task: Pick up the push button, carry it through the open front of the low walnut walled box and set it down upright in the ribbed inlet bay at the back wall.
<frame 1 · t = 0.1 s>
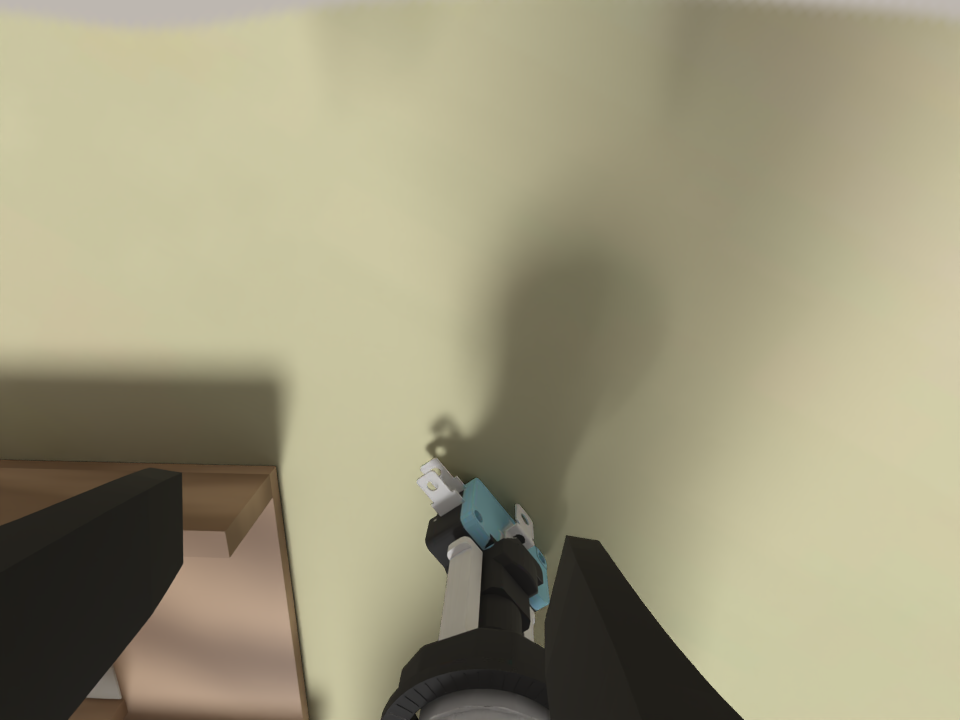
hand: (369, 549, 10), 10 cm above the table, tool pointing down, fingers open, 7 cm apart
walled box: (138, 625, 24), on the table
push button: (484, 513, 22), on the table
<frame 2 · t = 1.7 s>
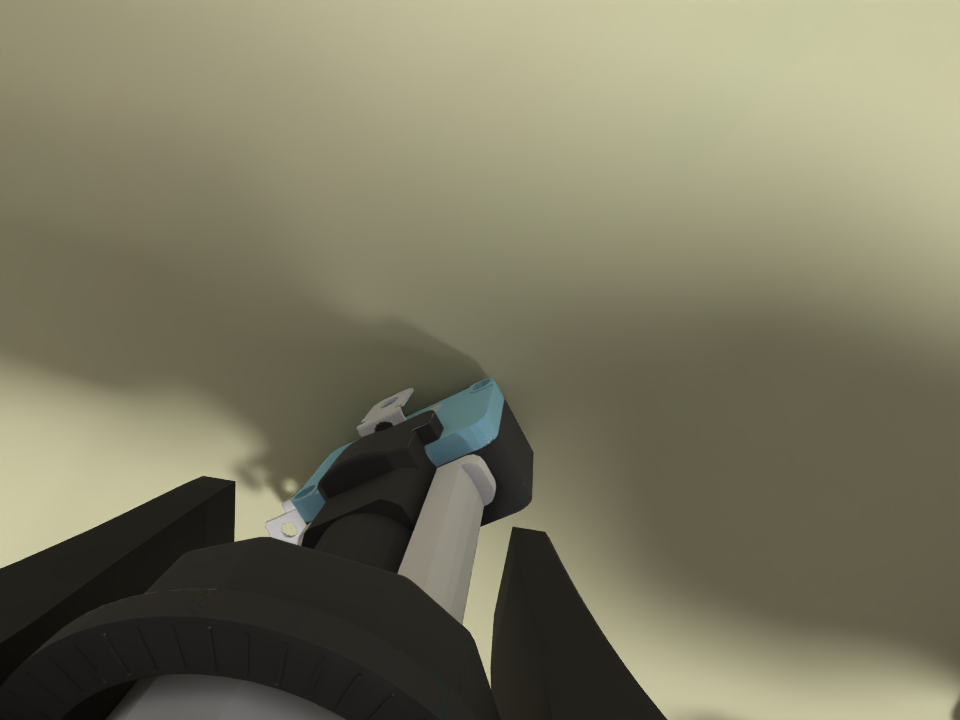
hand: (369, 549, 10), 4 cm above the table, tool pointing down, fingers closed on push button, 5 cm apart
push button: (406, 449, 14), on the table, touching gripper
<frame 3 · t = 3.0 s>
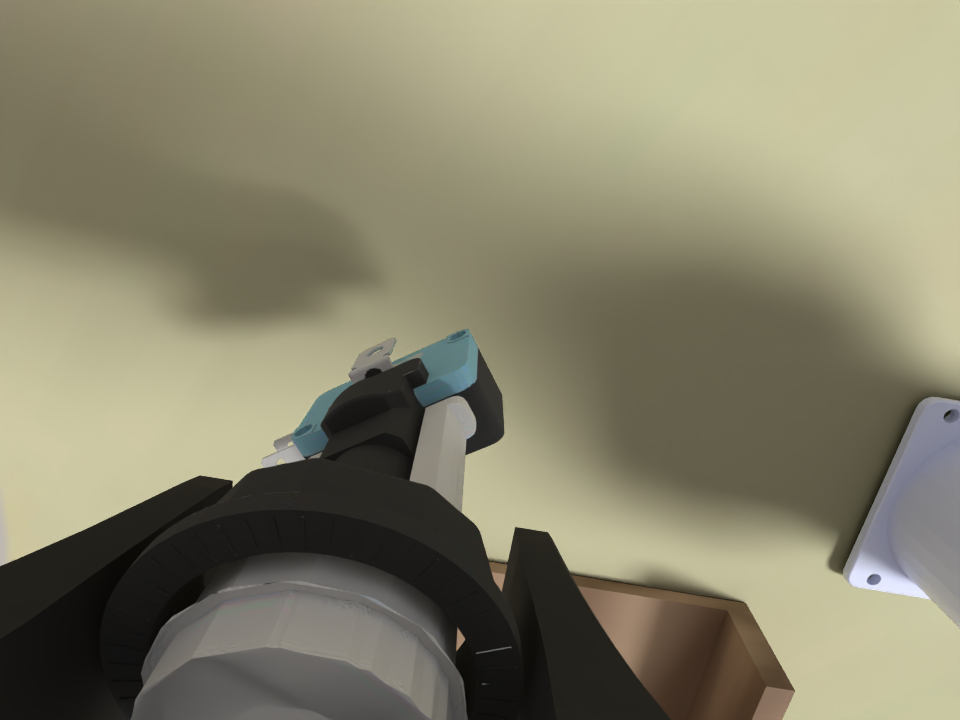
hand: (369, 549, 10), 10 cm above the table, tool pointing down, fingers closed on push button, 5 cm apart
walled box: (522, 698, 25), on the table
push button: (387, 393, 16), point 4 cm above the table, touching gripper
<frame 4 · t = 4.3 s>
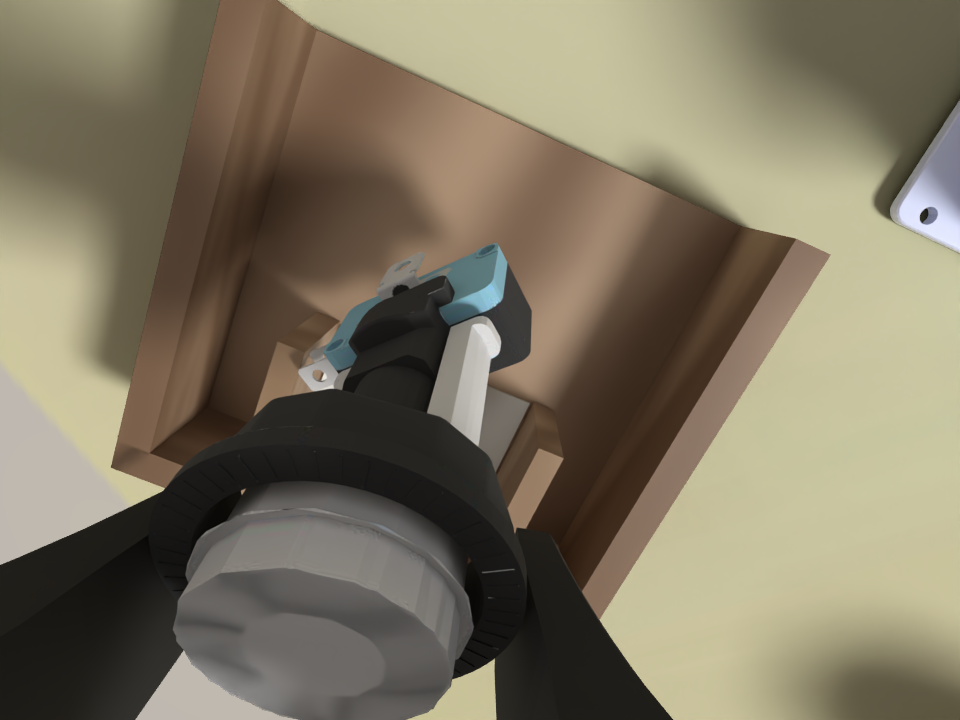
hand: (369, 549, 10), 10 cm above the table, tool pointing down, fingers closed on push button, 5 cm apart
walled box: (450, 331, 20), on the table
push button: (417, 306, 16), point 3 cm above the table, touching gripper
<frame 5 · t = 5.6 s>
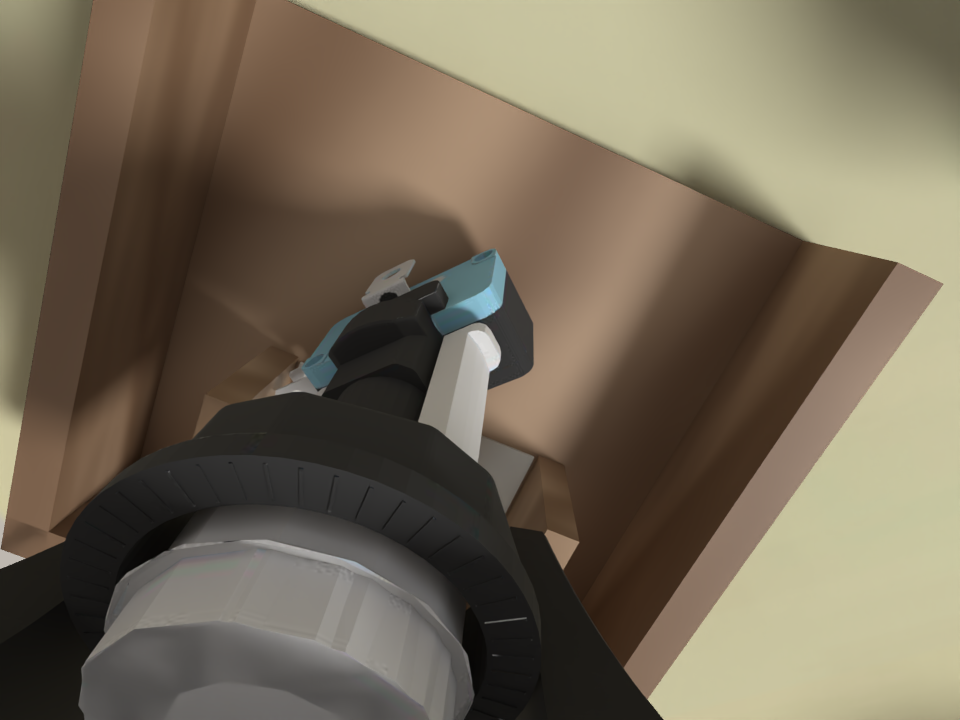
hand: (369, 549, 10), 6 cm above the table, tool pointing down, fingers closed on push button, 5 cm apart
walled box: (436, 368, 16), on the table
push button: (408, 321, 14), point 1 cm above the table, touching gripper, walled box
when the fingers open (6 cm above the table, at t = 5.9 s): push button stays where it is, resting on walled box.
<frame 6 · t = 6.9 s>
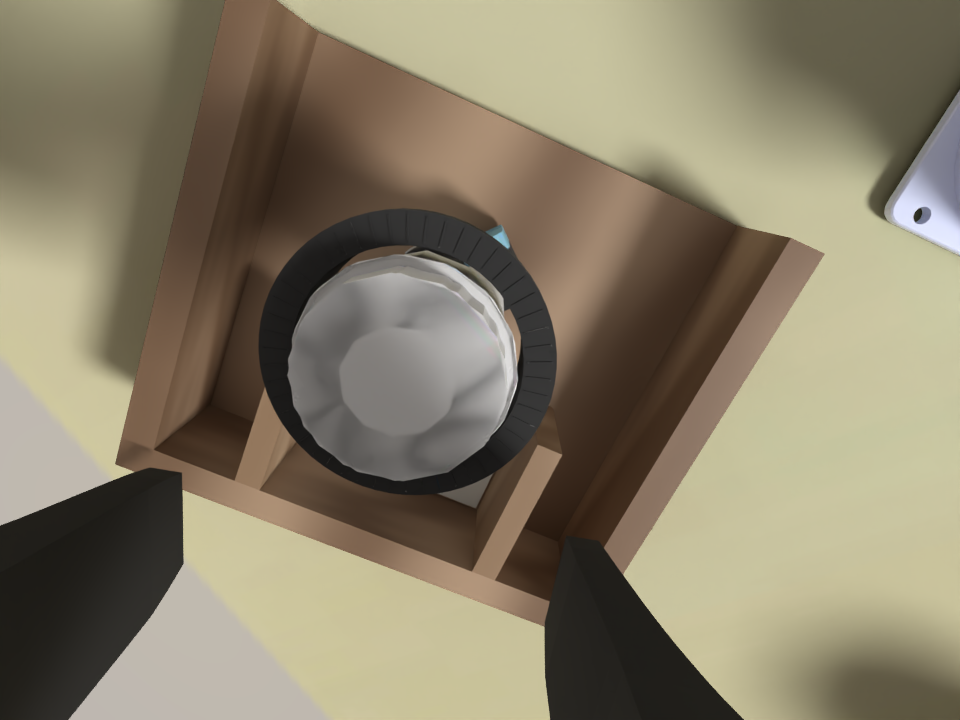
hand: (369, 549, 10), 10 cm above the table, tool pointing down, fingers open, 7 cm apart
walled box: (450, 330, 20), on the table
push button: (432, 287, 19), resting on walled box
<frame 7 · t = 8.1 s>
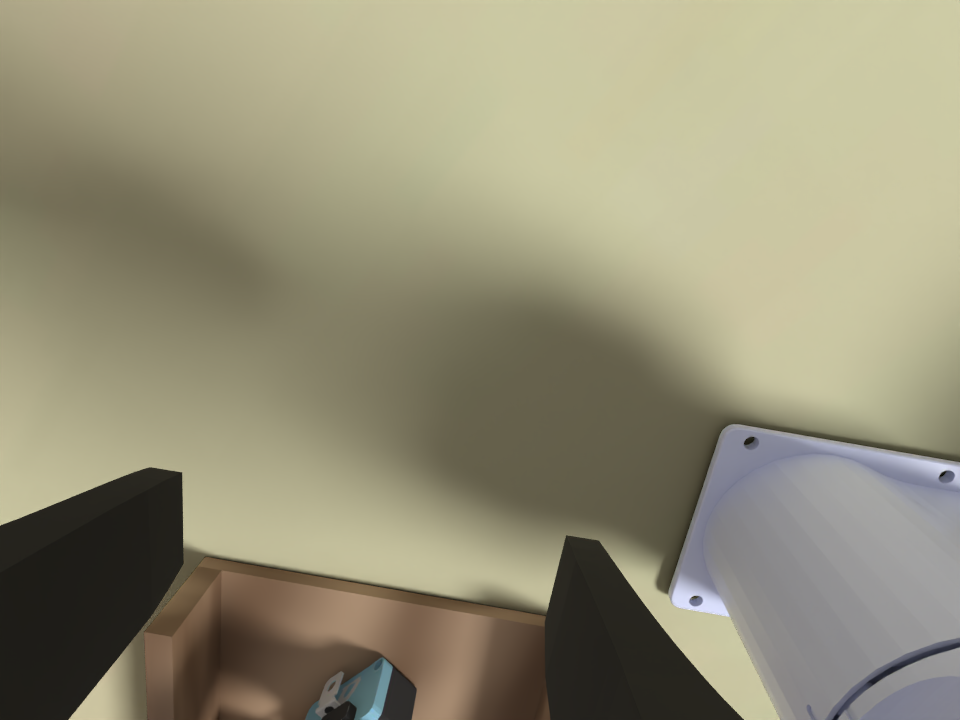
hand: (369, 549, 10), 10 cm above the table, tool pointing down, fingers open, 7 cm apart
walled box: (375, 712, 26), on the table
push button: (350, 695, 25), resting on walled box
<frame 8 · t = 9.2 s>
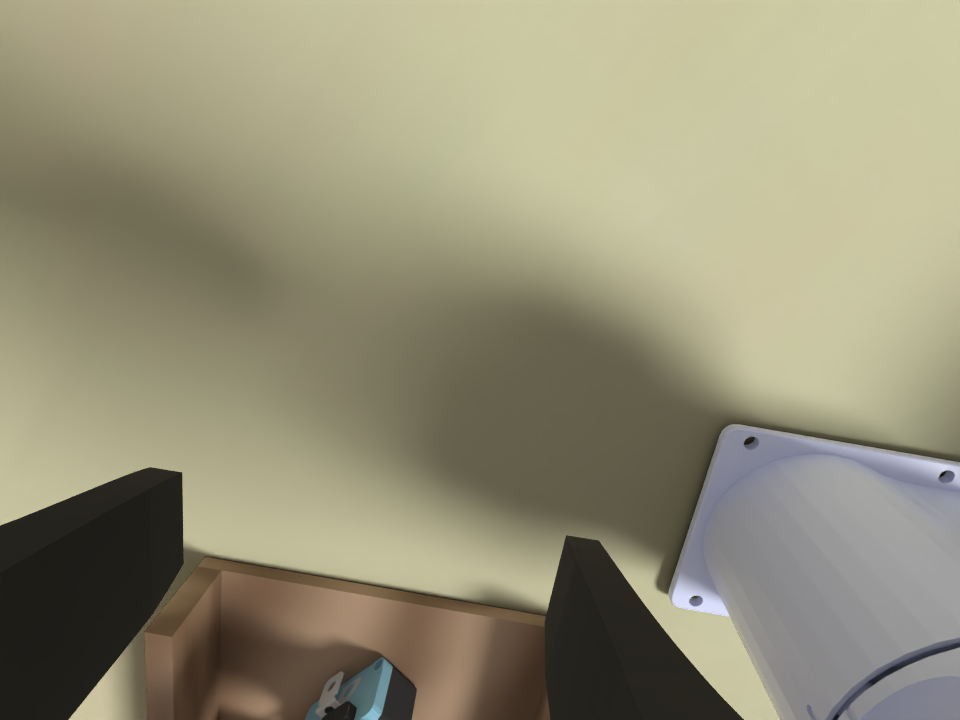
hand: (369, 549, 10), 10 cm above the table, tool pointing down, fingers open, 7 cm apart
walled box: (375, 712, 26), on the table
push button: (350, 695, 25), resting on walled box
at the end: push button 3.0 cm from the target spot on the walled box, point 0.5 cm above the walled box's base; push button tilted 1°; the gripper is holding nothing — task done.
